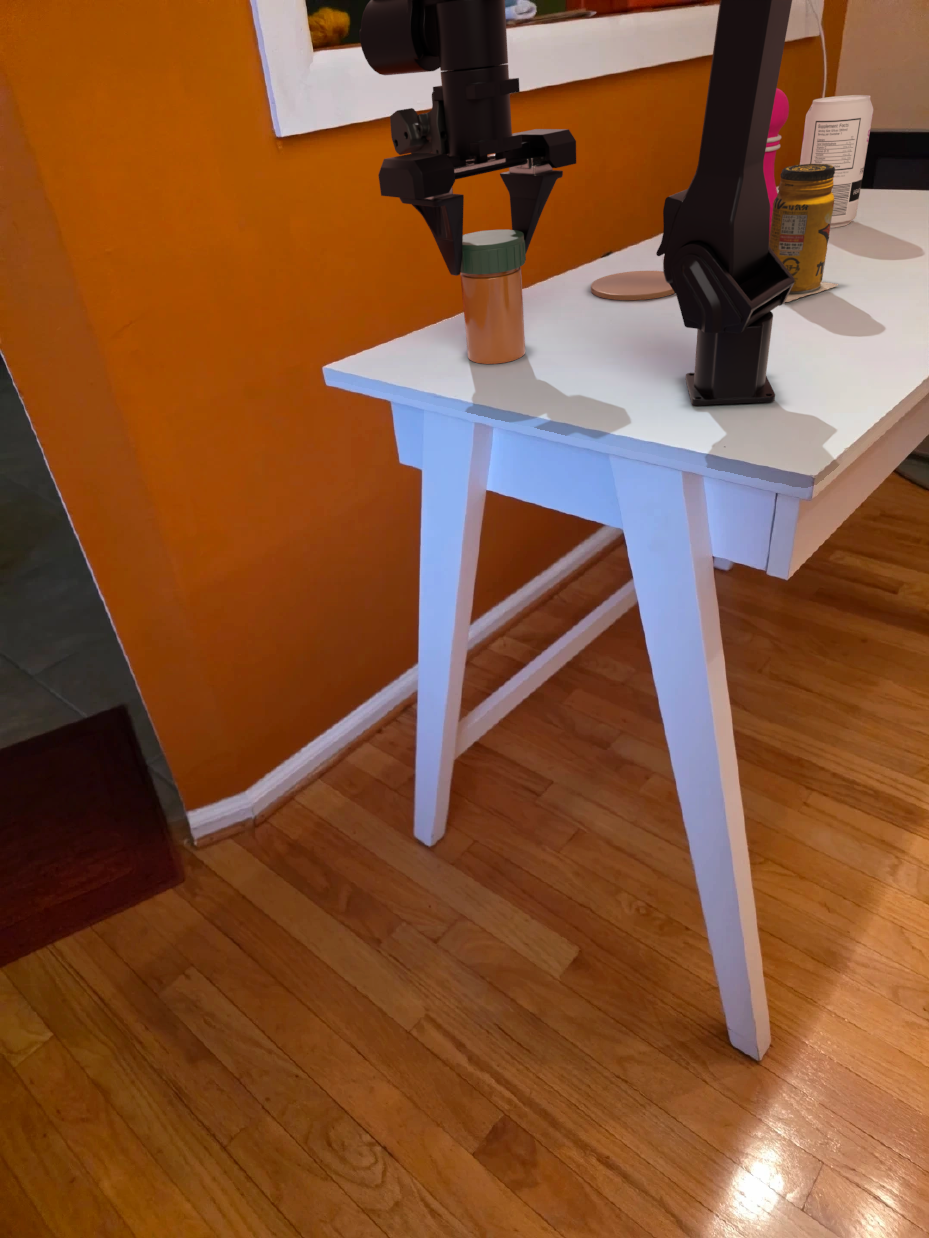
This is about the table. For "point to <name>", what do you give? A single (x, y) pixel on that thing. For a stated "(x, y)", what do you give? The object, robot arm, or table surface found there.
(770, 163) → the pink bowling pin
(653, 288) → the coaster
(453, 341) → the table surface
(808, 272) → the condiment
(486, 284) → the jam jar
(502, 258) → the jam lid
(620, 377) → the table surface
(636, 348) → the table surface
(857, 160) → the supplement can
